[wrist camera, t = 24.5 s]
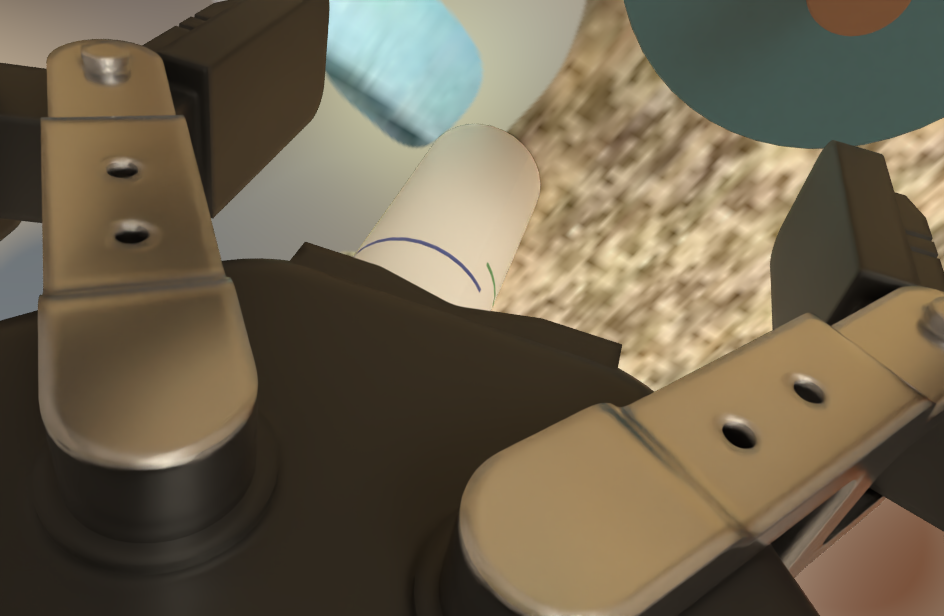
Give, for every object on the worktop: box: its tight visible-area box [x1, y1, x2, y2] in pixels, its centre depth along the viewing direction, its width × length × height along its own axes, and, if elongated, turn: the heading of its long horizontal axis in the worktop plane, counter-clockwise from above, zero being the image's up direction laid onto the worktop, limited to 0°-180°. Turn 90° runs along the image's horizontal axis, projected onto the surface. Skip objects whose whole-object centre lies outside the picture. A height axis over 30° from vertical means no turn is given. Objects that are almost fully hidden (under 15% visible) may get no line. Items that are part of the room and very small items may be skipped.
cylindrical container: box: [353, 124, 541, 311], centre depth 38 cm, size 7×7×25 cm
